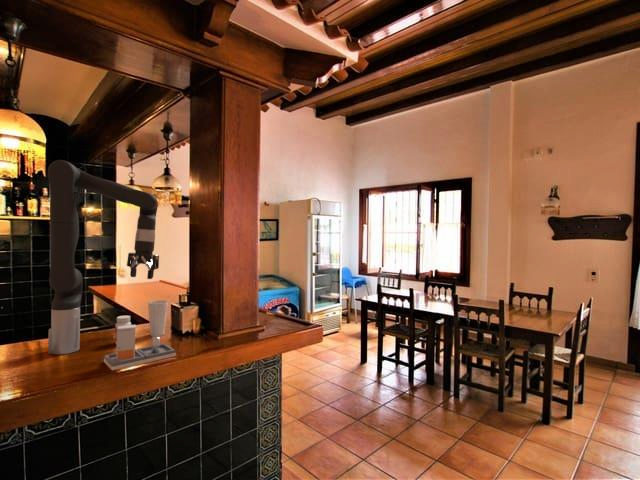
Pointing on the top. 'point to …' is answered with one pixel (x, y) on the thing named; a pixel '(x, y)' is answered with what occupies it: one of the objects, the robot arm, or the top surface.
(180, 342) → the top surface
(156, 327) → the cup
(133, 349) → the skincare box
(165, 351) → the board
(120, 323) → the pill bottle
